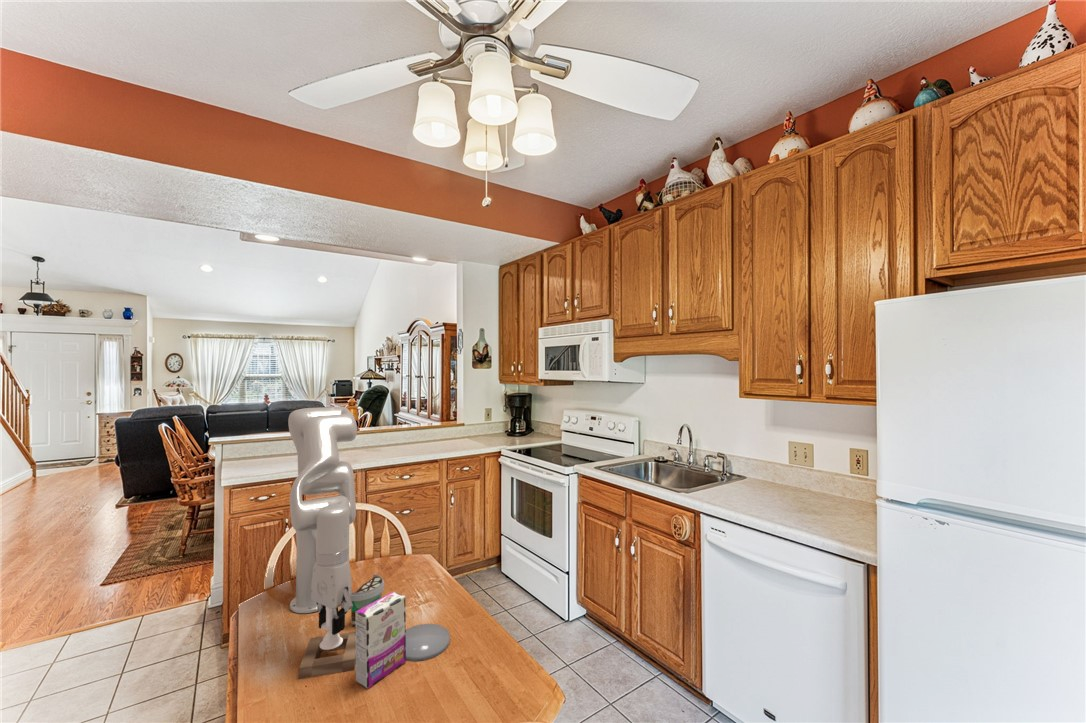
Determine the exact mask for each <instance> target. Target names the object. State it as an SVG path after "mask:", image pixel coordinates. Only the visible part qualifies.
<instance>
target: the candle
mask: <svg viewBox="0 0 1086 723" xmlns="http://www.w3.org/2000/svg"><path fill="white" fill-rule="evenodd" d="M333 618H334V612H333V609H331V608H329V607H326V622H325V623H323V624H322V625H321V630H324V631H326V634H325V635H323V636H324V638H323V641H322V642H321V643H320V645H319V646H320V648H321V649H323V650H330V649H334V648H336V647H338V646H340V645H341V644H342V642H343V638H342V637H340V634H341V633H340V632H339V633H337V634H335V635H333V634H332V619H333Z"/></svg>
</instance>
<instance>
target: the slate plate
mask: <svg viewBox="0 0 1086 723" xmlns="http://www.w3.org/2000/svg"><path fill="white" fill-rule="evenodd" d="M405 629H406V661H410V662H421V661H426V660H427V661H428V660H431V659H433V658H435V657H438V656H439V655H441V654H443V653H444V651H446V649H447V648H448V647H449V645H450V642H451V640H450V639H451V634H450V632H449V630H448V629H447V628H446V627H445V626H443V625H439V624H435V623H422V624H417V625H413V626H410V627H408V628H405Z"/></svg>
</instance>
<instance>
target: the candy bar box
mask: <svg viewBox="0 0 1086 723" xmlns="http://www.w3.org/2000/svg"><path fill="white" fill-rule="evenodd" d="M406 614H407V613H406V595H403V594H401V593H397V592H396V591H392V592H390V593H388V594H387V595H384V596H382V597H381V598H380V599H378V600H377V601H375V602H373V603H371V604H369V605H367V606H365V607H363V608H362V609H360V610H358V611H356V612H355V627H354V628H355V629H354V630H355V631H354V632H355V641H356V649H355V653H356V664H355V682H356V683H357V684H359V685H361V686H362V687H364V688H366V689H367V690H368V689H370V688H372V687H374V685H376V684H377V683H379V682H380V681H382V680H383V679H384V678H386V677H387V676H388V675H390V674H391V673H392V672H394V671H396V669H399V668H400V666H402V665H403V664H405V663H406V661H407V660H406V629H407V628H406V617H407V616H406Z"/></svg>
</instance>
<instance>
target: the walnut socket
mask: <svg viewBox="0 0 1086 723" xmlns="http://www.w3.org/2000/svg"><path fill="white" fill-rule="evenodd" d="M339 634H340V637H342V638H343V642H342V644H341V645H340V646H338V647H336V648H334V649H330V650H323V649H321V648H320V646H319V645H320V643H321V642H322V641H323V638H324V636H325V635H322V636H315V637H311V638H310V639H309V641H308V644H307V647H306V649H305V651H304V653H303V657H302V658H301V663H300V665H299V668H298V680H302V679H307V678H313V677H319V676H320V677H321V676H325V675H331V674H336V673H338V674H339V673H342V672H349V671H355V670H356V653H355V649H356V641H355V631H351V632H350V631H349V632H344V633H343V632H342V633H339ZM339 650H344V652H343V654H337V655H332V656H331V655H330V656H324V657H319V656H320V653H326V652H331V651H339Z"/></svg>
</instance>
